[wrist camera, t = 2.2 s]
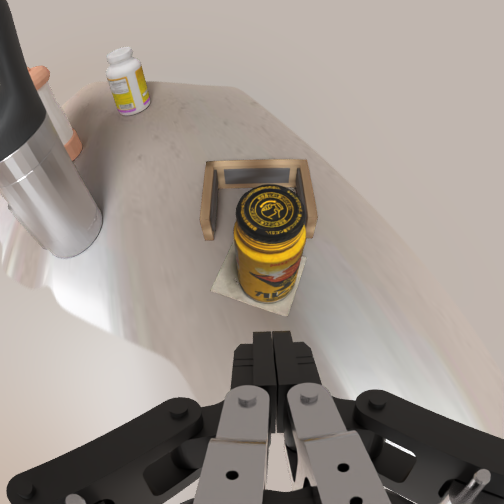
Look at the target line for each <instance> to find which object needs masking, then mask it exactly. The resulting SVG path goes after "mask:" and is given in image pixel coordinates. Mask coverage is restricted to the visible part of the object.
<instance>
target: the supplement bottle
mask: <svg viewBox="0 0 504 504" xmlns="http://www.w3.org/2000/svg"><path fill="white" fill-rule="evenodd" d="M132 53H133V52H132V49H131V47H123V48H119V49H117V50H114V51H112V52H110V53H109V54H108V55H107V56H106V57H107V62H108V63H109V64H110V66H109V67H108V69H107V71H106V76H107V79H108V82H109V85H110V88H111V91H112V94H113V97H114V100H115V103H116V106H117V109H118V111H119V113H120V114H122V115H126V116H127V115H134V114H137V113H139V112H141V111H143V110H144V109H146V108H147V107H148V106H149V104H150V97H149V93H148V89H147V85H146V81H145V78H144V74H143V70H142V66H141V62H140V60H139V59H137V58H134V57H132Z"/></svg>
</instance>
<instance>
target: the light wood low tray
mask: <svg viewBox="0 0 504 504" xmlns="http://www.w3.org/2000/svg"><path fill="white" fill-rule="evenodd" d="M265 184H276V185H280V186H283V187H296V189H297V195H298V196H299V198H300V199H301V201H302V203H303V205H304V207H305V213H306V218H305V223H304V225H305V228H306V238H313V234H314V230H315V226H316V222H317V218H318V216H317V210H316V204H315V199H314V193H313V188H312V183H311V178H310V172H309V167H308V163H307V160H295V159H274V160H230V161H209V162H206V167H205V176H204V184H203V193H202V202H201V211H200V223H201V227H202V231H203V235H204V238H205V240H214V231H215V227H216V212H217V197H218V189H223V188H255V187H258V186H261V185H265Z"/></svg>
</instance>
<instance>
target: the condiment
mask: <svg viewBox="0 0 504 504" xmlns="http://www.w3.org/2000/svg"><path fill="white" fill-rule="evenodd" d="M236 218H237V220H236V223H235V226H234V241H233V243H232V245H231V247H230V250H229V252H228V254H227V256H226V258H225V261H224V263H223V265H222V268H221V269H220V271H219V273H218V275H217V278H216V280H215V282H214V284H213V286H212V288H211V290H210V291H212V292H215V293H218V294H221V295H223V296H227V297H229V298H232V299H235V300H238V301H241V302H244V303H246V304H249V305H252V306H255V307H258V308H261V309H264V310H267V311H270V312H273V313H276V314H279V315H282V316H286V317H288V314H289V311H290V308H291V305H292V302H293V299H294V296H295V293H296V290H297V287H298V284H299V281H300V278H301V275H302V272H303V268H304V265H305V262H306V259H307V257H304V256H302V254H303V248H304V245H305V242H306V228H305V225H304V223H305V218H306V213H305V207H304V205H303V203H302V201H301V199H300V198H299V196H298V195H297V194H295V193H294V192H293V191H291V190H290V189H288V188H286V187H283V186H280V185H276V184H265V185H261V186H258V187H255V188H253V189H251V190H250V191H248V192H246V193H245V194H244V195H243V196H242V197H241V199H240V201H239V203H238V205H237V208H236ZM235 278H236V280H237V281H235V280H234V279H235ZM237 282H239V284H237Z"/></svg>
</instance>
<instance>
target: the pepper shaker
mask: <svg viewBox="0 0 504 504" xmlns="http://www.w3.org/2000/svg"><path fill="white" fill-rule="evenodd" d="M27 69H28V71H29V74H30V76H31V79H32V81H33V83H34V86H35V88H36V90H37V92H38V94H39V96H40V98H41V100H42V102H43V104H44V107H45V109H46V111H47V113H48V115H49V117H50V119H51V121H52V123H53V125H54V127H55V129H56V131H57V133H58V135H59V137H60V139H61V141H62V143H63V145H64V147H65V149H66V151H67V153H68V154H69V156H70V158H71V160H72V161H73V160H74V159H76V158H77V156H78V155H79V154H80V152H81V150H82V144H81V142H80V139H79V137H78V135H77V133H76V131H75V130H74V129H72V127H71V125H70V123H69V120H68V118H67V116H66V114H65V113H64V111H63V110H62V108H61V107H60V106H59V104H58V103H57V101H56V99H55V97H54V94H53V92H52V90H51V87H50V85H49V83H48V80H49V77H50V71H49V70H48V69H47V68H46V67H44V66H36V67H33V68H31V69H30V68H29V67H27Z"/></svg>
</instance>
